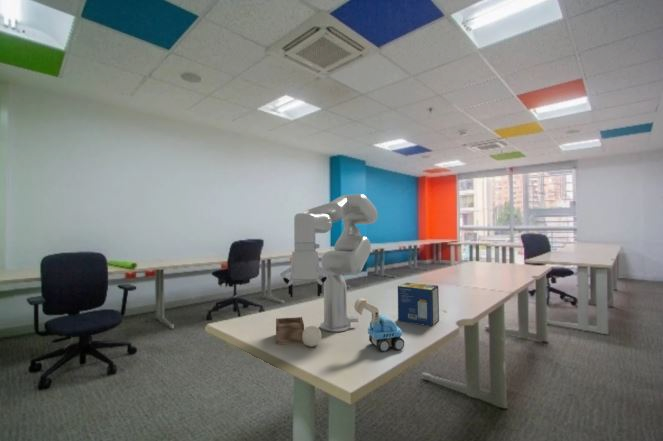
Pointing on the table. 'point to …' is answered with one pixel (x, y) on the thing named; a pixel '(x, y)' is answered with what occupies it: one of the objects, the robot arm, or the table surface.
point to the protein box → (418, 303)
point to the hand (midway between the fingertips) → (305, 295)
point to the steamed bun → (311, 336)
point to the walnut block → (289, 330)
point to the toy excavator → (381, 328)
